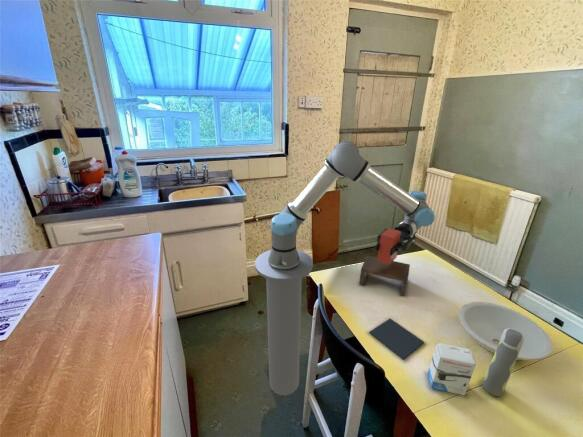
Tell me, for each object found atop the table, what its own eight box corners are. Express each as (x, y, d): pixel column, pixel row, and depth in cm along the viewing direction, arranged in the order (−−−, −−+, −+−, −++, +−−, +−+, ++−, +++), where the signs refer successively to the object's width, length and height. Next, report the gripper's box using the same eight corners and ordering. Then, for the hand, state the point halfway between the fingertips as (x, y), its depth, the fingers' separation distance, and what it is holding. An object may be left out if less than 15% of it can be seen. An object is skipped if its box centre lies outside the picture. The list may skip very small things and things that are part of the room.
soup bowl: (448, 310, 105) (452, 296, 103) (523, 324, 99) (529, 309, 97) (465, 364, 84) (470, 347, 82) (562, 385, 78) (571, 368, 76)
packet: (377, 261, 116) (381, 234, 111) (384, 253, 121) (389, 228, 117) (389, 265, 113) (393, 238, 108) (396, 257, 119) (401, 231, 114)
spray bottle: (505, 389, 77) (529, 332, 69) (500, 401, 74) (525, 343, 66) (484, 377, 80) (505, 321, 72) (479, 388, 77) (500, 331, 69)
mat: (369, 333, 95) (369, 331, 95) (389, 319, 101) (390, 318, 101) (403, 360, 85) (403, 358, 85) (423, 343, 91) (424, 341, 91)
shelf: (359, 284, 120) (361, 268, 117) (364, 270, 130) (366, 255, 127) (404, 296, 113) (408, 279, 110) (406, 280, 123) (409, 264, 120)
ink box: (430, 389, 77) (439, 357, 72) (427, 373, 81) (435, 342, 77) (465, 396, 75) (477, 364, 70) (460, 379, 79) (470, 348, 75)
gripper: (424, 244, 124) (405, 266, 107) (384, 232, 134) (361, 250, 117) (427, 228, 121) (409, 248, 104) (386, 217, 131) (363, 234, 115)
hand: (384, 249), depth 111 cm, fingers closed on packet, 5 cm apart
